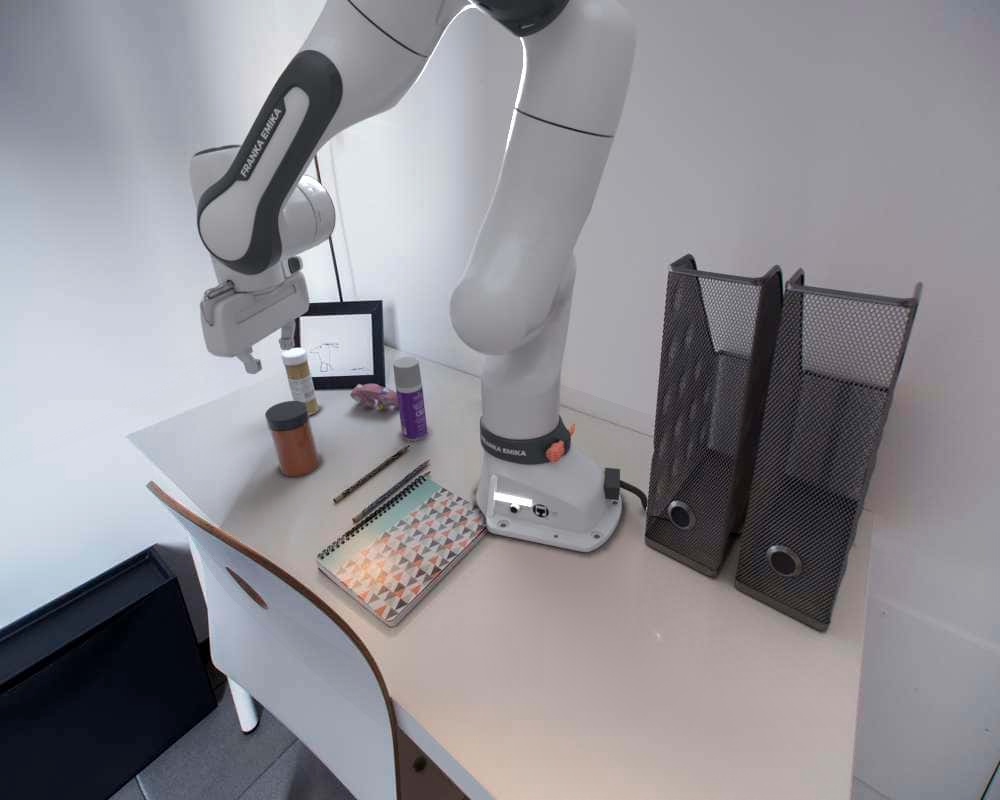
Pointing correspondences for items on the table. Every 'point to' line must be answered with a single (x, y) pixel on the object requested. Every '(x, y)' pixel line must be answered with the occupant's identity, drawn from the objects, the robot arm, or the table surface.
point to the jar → (296, 450)
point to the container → (410, 398)
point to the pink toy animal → (374, 396)
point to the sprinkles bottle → (300, 378)
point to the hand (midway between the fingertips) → (272, 359)
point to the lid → (287, 415)
